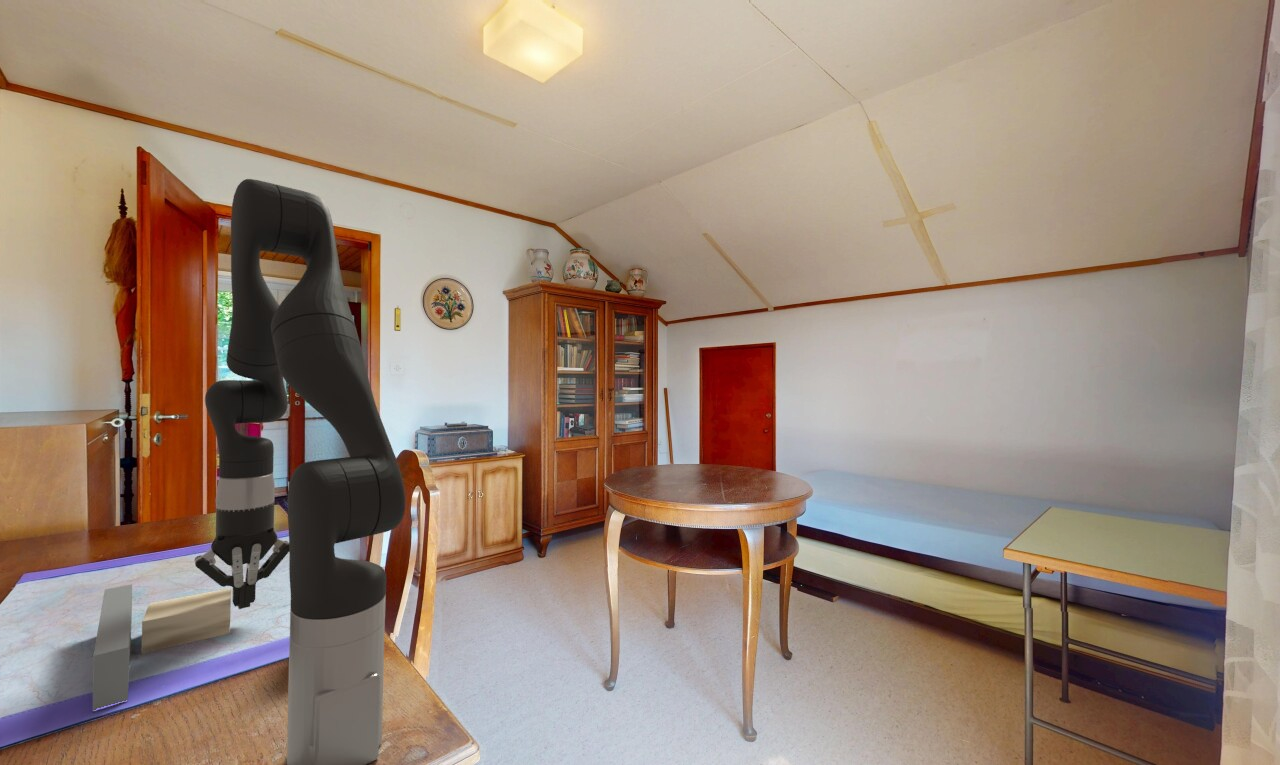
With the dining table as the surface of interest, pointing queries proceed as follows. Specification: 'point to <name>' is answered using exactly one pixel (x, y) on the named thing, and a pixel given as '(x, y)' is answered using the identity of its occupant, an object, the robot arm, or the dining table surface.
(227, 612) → the birch block
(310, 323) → the robot arm
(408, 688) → the dining table surface
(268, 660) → the dining table surface
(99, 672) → the grey block
